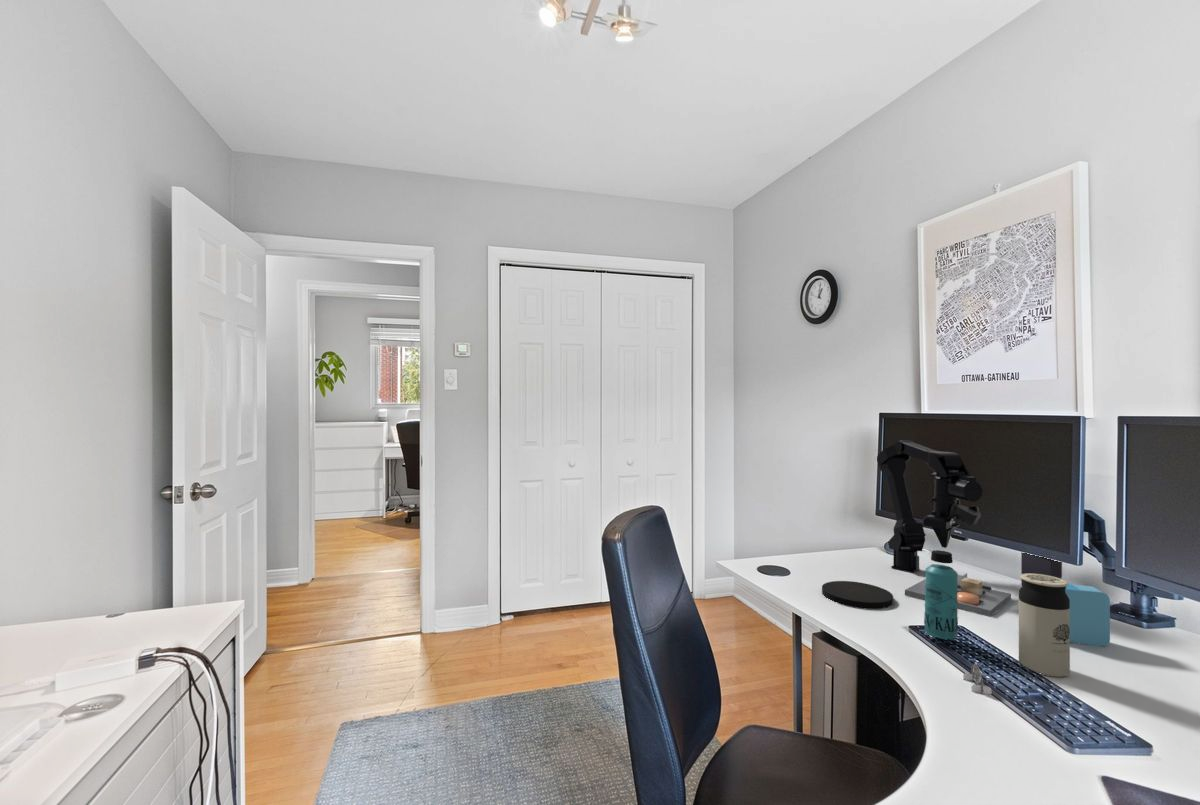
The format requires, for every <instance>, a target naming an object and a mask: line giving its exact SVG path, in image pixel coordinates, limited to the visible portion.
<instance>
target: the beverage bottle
mask: <svg viewBox="0 0 1200 805" xmlns="http://www.w3.org/2000/svg"><path fill="white" fill-rule="evenodd" d="M930 560H931V561H933V562H935V564H933V563H932V564H930V565H929V566H927V567H925V569H924V570H925V579H926V585H925V587H924V590H925V600H923V601H924V603H923V604H924V605H923V606H924V616H923V625H924V631H925V633H926V634H928V635H930V636H932V637H934V638H938V639H944V640H954V639H956V638H957V636H958V634H959V633H958V629H959V628H958V626H959V625H958V624H959V617H958V611H959V610H958V601H957V583H958V573H957V572H956V571H957V570H955V569H954V568H953V567H951V566H949V565H945V564H952V563H953V562H954V560H953V554H952V552H949V551H946V550H938V549H936V550H935V549H934V550H932V551H931V555H930ZM938 563H939V564H938ZM941 563H942V564H941Z"/></svg>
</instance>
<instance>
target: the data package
mask: <svg viewBox="0 0 1200 805" xmlns="http://www.w3.org/2000/svg"><path fill="white" fill-rule="evenodd" d="M1065 593H1066V594H1067V596H1068V598H1069V599H1070V642H1071V643H1070V644H1078V643H1080V645H1086V644H1088V645H1087V646H1095V645H1098V647H1105V646H1107V645H1109V644H1110V642H1111V632H1110V631H1111V598H1110V596H1109V595H1108V594H1107V593H1105V592H1103V591H1102V590H1100V589H1098V588H1096V587H1095V586H1091V585H1082V584H1081V585H1080V584H1079V585H1078V584H1072V583H1071V584H1070V583H1068V585H1067V586H1066V590H1065Z"/></svg>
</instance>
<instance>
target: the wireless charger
mask: <svg viewBox="0 0 1200 805" xmlns="http://www.w3.org/2000/svg"><path fill="white" fill-rule="evenodd" d="M821 595H822V596H823V595H824V596H825V597H824V596H823V597H824V598H826V599H827V598H828V599H827V600H829V599H830V600H829V601H831V600H832V601H831V602H833V601H834V602H833V603H836V602H837V603H836V604H839V605H843V606H847V607H851V606H852V608H856V607H858V608H859V609H864V608H866V610H880V609H886V608H889V607H891V606H893V604H894V595H893V594H892V592H891V591H888V590H887V589H885V588H882V587H880V586H876V585H873V584H869V583H864V582H859V581H853V580H852V581H851V580H834V581H829V582H825V583H823V584H822V586H821Z"/></svg>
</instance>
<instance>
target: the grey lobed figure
mask: <svg viewBox="0 0 1200 805" xmlns="http://www.w3.org/2000/svg"><path fill="white" fill-rule="evenodd" d="M970 670H971V671H970V673H964V674H963V675H962V676H963V677H962V678H963V680H964V681H971V682H973V683H974V684H973V685H971V692H975V693H981V694H988V695H989V694H990V695H993V694H992V688H991V687H990V686H987V685H984V680H983V677H982V674H981V670H980V667H979V666H978V664H977V663H975V662H974V663H973V665H971V667H970Z"/></svg>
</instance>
